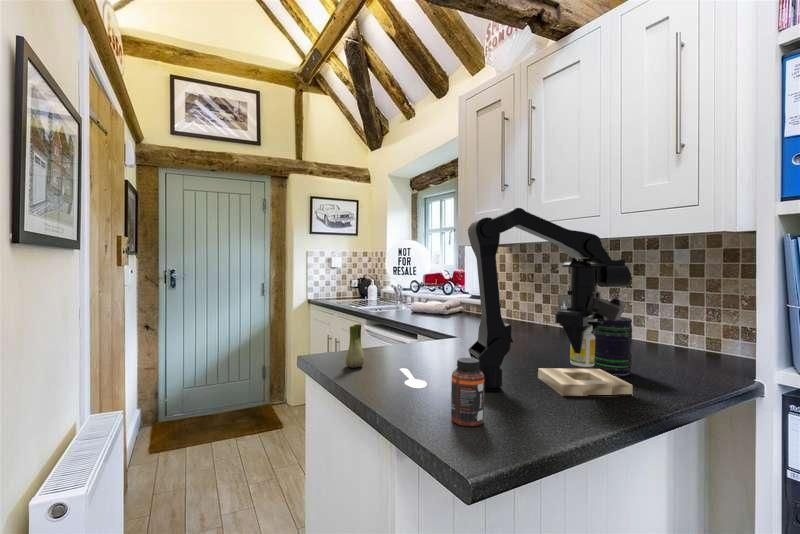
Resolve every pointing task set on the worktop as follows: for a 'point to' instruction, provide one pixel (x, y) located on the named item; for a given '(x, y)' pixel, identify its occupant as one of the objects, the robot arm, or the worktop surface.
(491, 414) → the worktop surface
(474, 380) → the supplement bottle
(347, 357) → the fennel bulb
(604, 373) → the wooden frame
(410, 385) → the spoon
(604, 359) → the storage jar
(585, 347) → the supplement bottle
